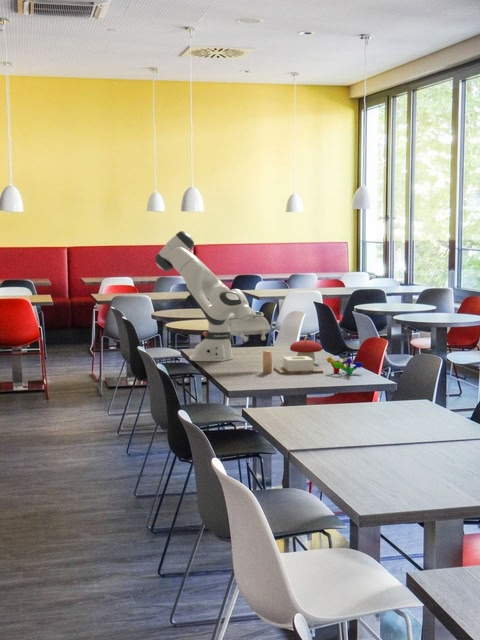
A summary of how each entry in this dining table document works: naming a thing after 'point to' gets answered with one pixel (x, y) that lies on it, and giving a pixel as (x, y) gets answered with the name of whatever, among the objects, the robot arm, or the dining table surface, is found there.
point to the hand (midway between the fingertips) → (255, 340)
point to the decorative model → (340, 365)
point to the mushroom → (306, 347)
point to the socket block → (298, 363)
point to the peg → (267, 361)
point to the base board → (284, 371)
